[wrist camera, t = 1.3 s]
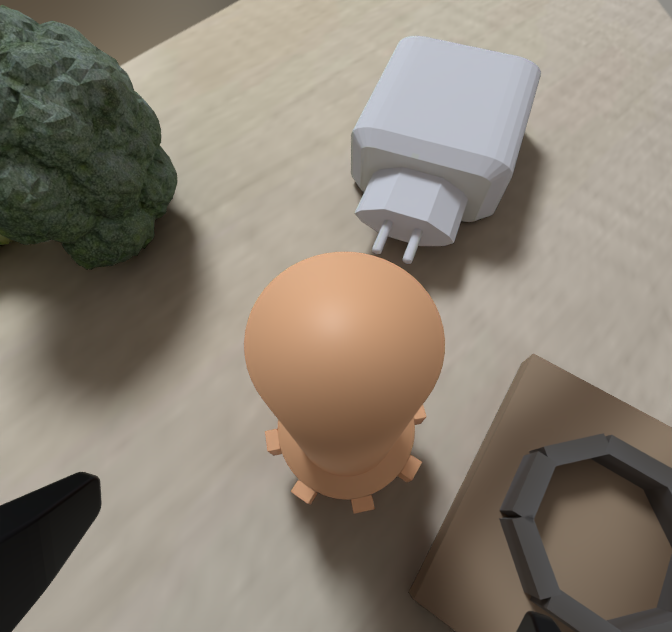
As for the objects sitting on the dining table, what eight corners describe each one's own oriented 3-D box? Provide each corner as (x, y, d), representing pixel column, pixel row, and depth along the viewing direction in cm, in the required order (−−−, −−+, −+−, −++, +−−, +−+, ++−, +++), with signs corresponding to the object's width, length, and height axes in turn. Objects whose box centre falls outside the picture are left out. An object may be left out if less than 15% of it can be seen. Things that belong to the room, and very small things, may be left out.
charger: (314, 257, 25) (392, 97, 31) (464, 305, 23) (517, 127, 29) (307, 204, 20) (399, 30, 26) (491, 260, 19) (546, 61, 25)
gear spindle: (431, 494, 19) (572, 471, 7) (289, 527, 18) (186, 561, 7) (394, 360, 22) (450, 183, 10) (270, 386, 21) (173, 233, 9)
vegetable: (-41, 121, 27) (113, -31, 22) (98, 277, 32) (250, 181, 27) (-309, 143, 17) (-130, -135, 12) (-42, 372, 21) (164, 242, 17)
